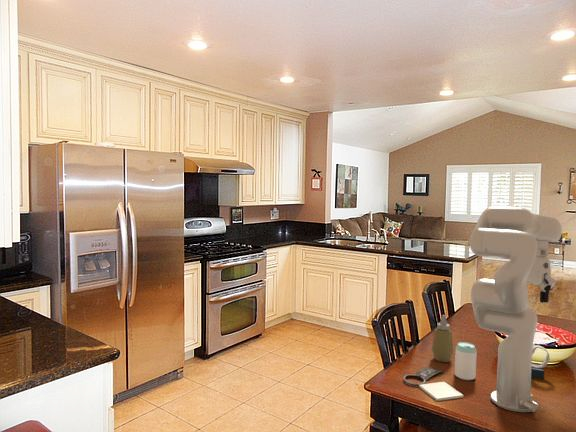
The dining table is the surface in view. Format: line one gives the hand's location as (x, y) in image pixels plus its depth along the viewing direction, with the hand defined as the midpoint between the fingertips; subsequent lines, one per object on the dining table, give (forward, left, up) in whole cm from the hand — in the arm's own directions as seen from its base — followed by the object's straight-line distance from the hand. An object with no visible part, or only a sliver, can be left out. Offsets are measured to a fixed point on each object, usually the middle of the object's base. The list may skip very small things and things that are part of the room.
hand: (532, 298), depth 155 cm
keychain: (+7, +40, -29) cm, 50 cm away
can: (+4, +25, -29) cm, 38 cm away
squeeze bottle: (+20, +23, -29) cm, 42 cm away
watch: (-1, -2, -29) cm, 29 cm away
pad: (-4, +41, -28) cm, 50 cm away
